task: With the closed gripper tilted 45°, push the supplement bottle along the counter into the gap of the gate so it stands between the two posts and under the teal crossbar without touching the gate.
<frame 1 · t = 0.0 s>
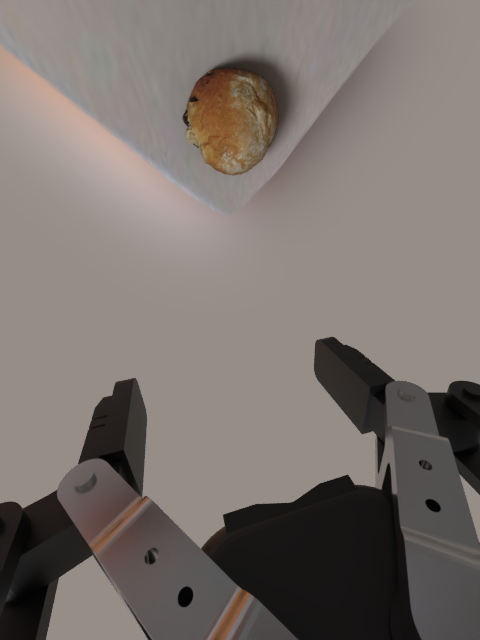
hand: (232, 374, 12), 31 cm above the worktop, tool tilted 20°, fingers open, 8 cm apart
bread roll: (226, 120, 32), on the worktop
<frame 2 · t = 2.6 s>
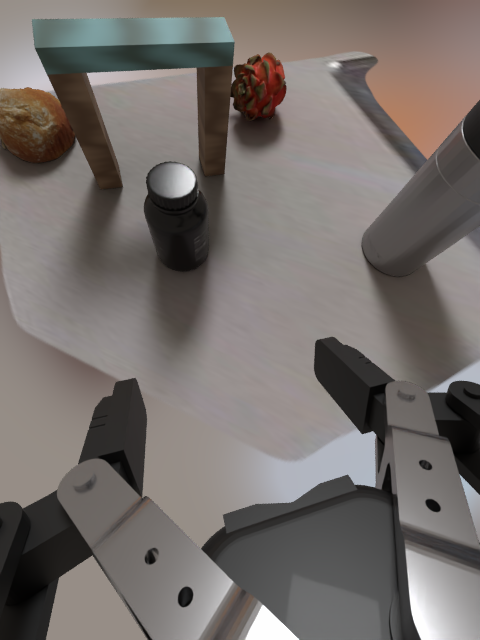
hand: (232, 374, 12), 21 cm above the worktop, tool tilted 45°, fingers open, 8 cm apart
gate: (162, 171, 41), on the worktop
bread roll: (43, 138, 41), on the worktop
supplement bottle: (183, 251, 38), on the worktop
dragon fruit: (254, 111, 48), on the worktop
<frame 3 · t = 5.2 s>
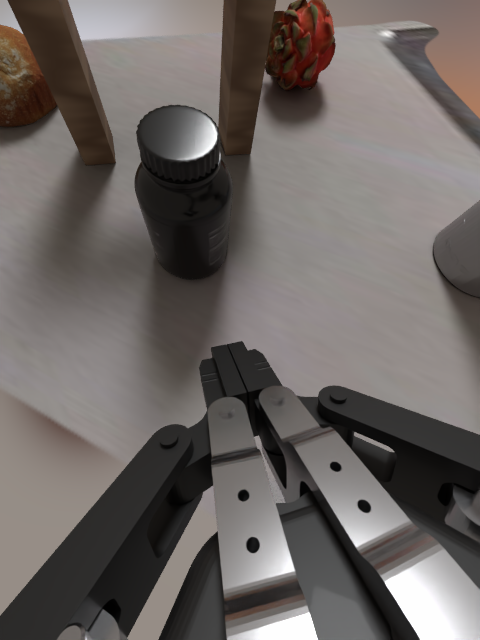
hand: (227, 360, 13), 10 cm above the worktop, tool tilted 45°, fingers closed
gate: (169, 145, 31), on the worktop
bread roll: (18, 98, 32), on the worktop
supplement bottle: (191, 252, 27), on the worktop
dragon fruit: (290, 80, 38), on the worktop
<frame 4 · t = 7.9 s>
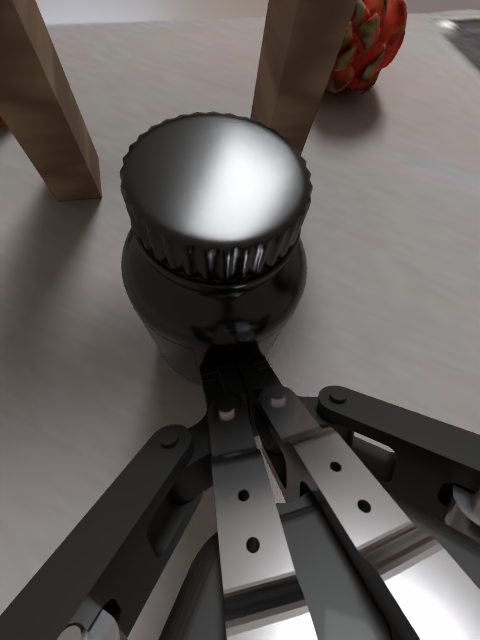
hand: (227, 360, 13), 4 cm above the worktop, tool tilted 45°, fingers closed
gate: (179, 171, 22), on the worktop
supplement bottle: (213, 335, 18), on the worktop, touching gripper
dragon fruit: (335, 81, 29), on the worktop
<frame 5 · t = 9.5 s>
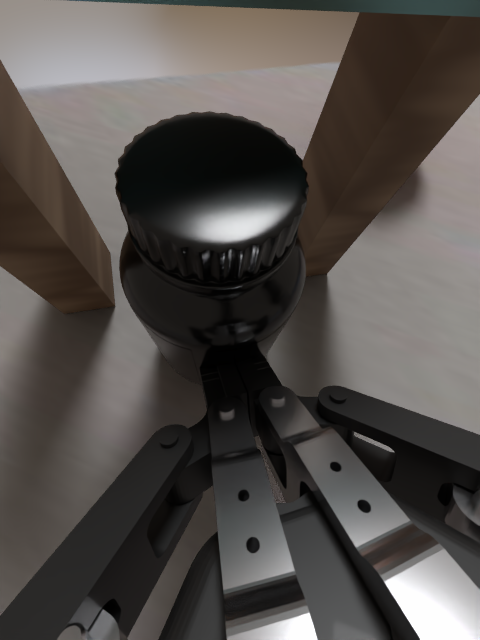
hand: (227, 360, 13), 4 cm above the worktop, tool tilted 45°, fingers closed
gate: (202, 266, 19), on the worktop
supplement bottle: (214, 335, 18), on the worktop, touching gripper
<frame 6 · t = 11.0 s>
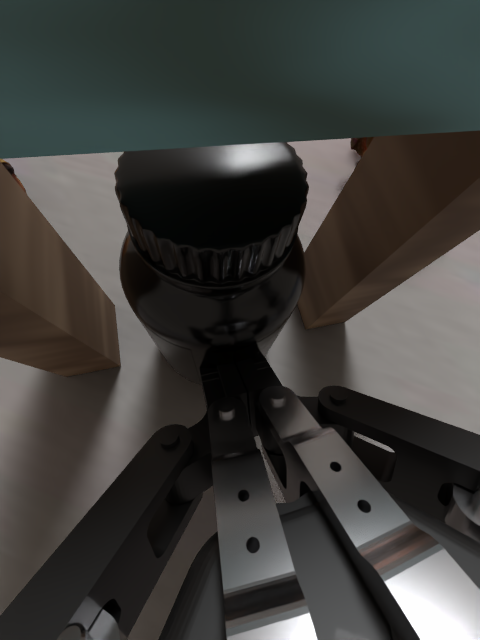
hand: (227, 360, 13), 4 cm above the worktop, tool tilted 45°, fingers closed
gate: (212, 317, 18), on the worktop
supplement bottle: (214, 335, 18), on the worktop, touching gripper
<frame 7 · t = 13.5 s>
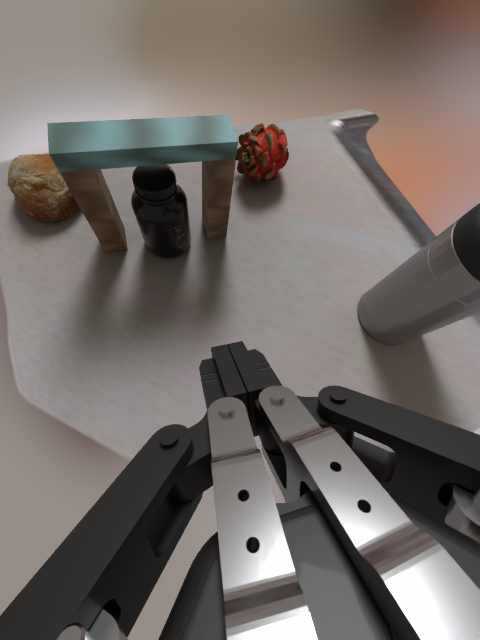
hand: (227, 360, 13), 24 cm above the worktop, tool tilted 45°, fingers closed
gate: (166, 233, 43), on the worktop
bread roll: (57, 196, 43), on the worktop
supplement bottle: (168, 241, 42), on the worktop
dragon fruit: (258, 171, 50), on the worktop
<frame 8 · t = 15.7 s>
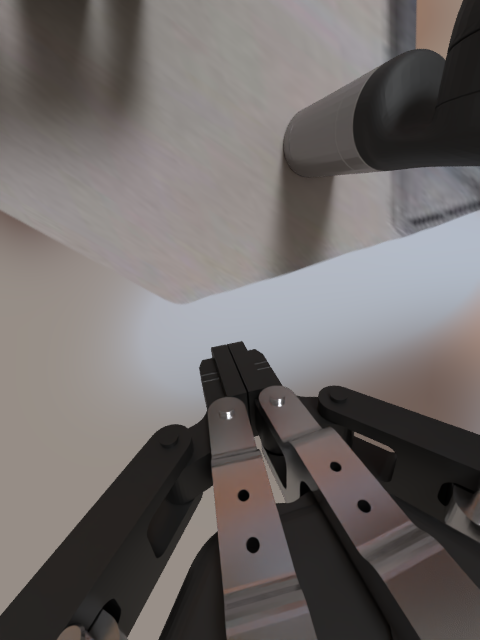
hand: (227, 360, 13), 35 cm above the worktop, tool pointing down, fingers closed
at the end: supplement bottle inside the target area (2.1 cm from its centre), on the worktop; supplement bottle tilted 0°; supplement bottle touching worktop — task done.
